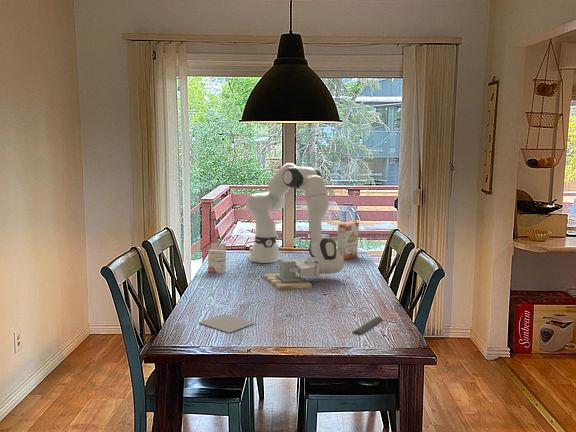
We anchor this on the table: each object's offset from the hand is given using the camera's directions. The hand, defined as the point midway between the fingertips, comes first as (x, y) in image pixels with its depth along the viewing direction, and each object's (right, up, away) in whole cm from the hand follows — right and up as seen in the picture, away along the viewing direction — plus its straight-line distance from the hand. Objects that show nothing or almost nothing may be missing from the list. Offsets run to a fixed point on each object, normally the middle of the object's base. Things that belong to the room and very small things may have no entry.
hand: (285, 268), depth 272 cm
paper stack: (-16, -16, -58) cm, 62 cm away
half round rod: (+31, -17, -60) cm, 70 cm away
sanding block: (+1, -5, +1) cm, 5 cm away
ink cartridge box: (-36, -4, +20) cm, 41 cm away
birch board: (0, -7, +2) cm, 7 cm away
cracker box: (+36, +1, +58) cm, 69 cm away
